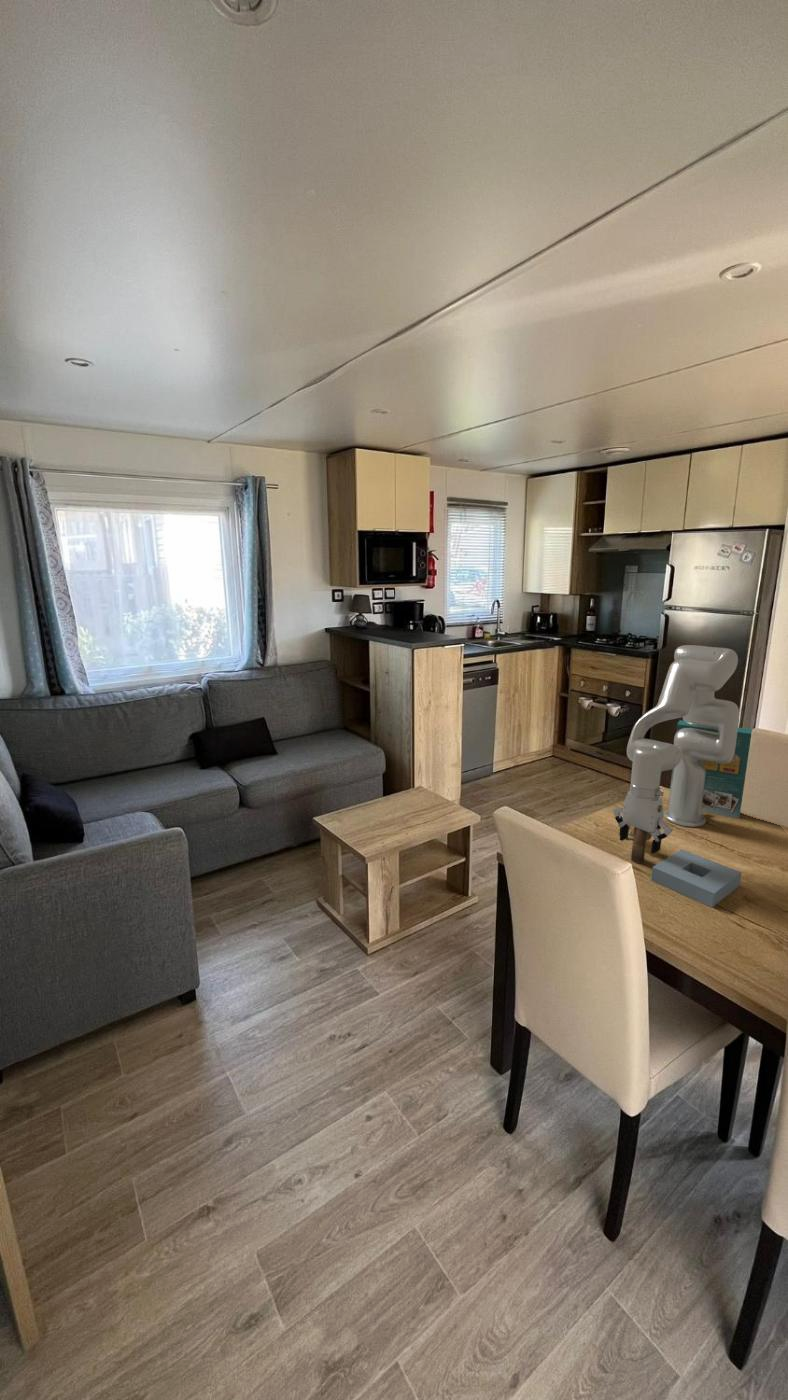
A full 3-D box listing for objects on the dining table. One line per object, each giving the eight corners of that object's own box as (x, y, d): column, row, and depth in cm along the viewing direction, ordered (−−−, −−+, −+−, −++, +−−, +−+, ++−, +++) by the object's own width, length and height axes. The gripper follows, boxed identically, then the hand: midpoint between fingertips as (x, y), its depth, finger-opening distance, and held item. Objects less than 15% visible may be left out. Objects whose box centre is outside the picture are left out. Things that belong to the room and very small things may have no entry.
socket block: (680, 861, 163) (681, 849, 162) (739, 885, 151) (741, 872, 150) (651, 880, 154) (652, 867, 153) (712, 907, 142) (714, 893, 141)
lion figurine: (657, 853, 168) (660, 826, 166) (641, 855, 167) (643, 827, 165) (629, 831, 182) (632, 805, 180) (614, 832, 181) (616, 806, 179)
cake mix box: (740, 812, 195) (752, 729, 188) (739, 818, 190) (751, 733, 183) (670, 798, 207) (679, 720, 200) (668, 804, 202) (677, 724, 195)
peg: (635, 856, 167) (638, 819, 164) (646, 861, 164) (650, 823, 161) (628, 860, 165) (632, 822, 162) (639, 864, 162) (643, 826, 159)
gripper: (681, 796, 155) (675, 853, 159) (623, 778, 168) (618, 831, 172) (667, 803, 150) (661, 861, 154) (609, 784, 164) (604, 838, 168)
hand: (638, 845), depth 163 cm, fingers open, 9 cm apart
